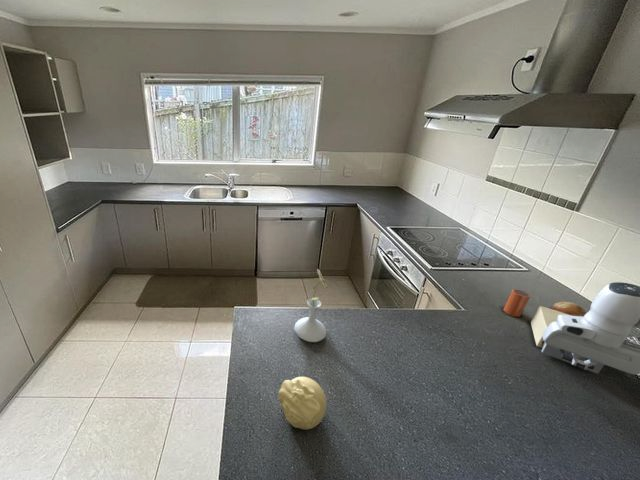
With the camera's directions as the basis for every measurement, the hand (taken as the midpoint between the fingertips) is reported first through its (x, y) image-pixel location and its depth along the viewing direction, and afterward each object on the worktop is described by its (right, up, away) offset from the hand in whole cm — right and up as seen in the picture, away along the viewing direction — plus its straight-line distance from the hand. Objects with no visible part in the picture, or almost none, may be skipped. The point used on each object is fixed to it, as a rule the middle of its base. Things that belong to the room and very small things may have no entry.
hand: (578, 366), depth 88 cm
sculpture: (-90, -6, -13) cm, 91 cm away
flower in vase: (-82, +5, +15) cm, 84 cm away
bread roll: (+29, +6, +29) cm, 41 cm away
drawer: (+6, 0, +9) cm, 11 cm away
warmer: (+10, +1, +15) cm, 18 cm away
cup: (+6, +8, +30) cm, 31 cm away
